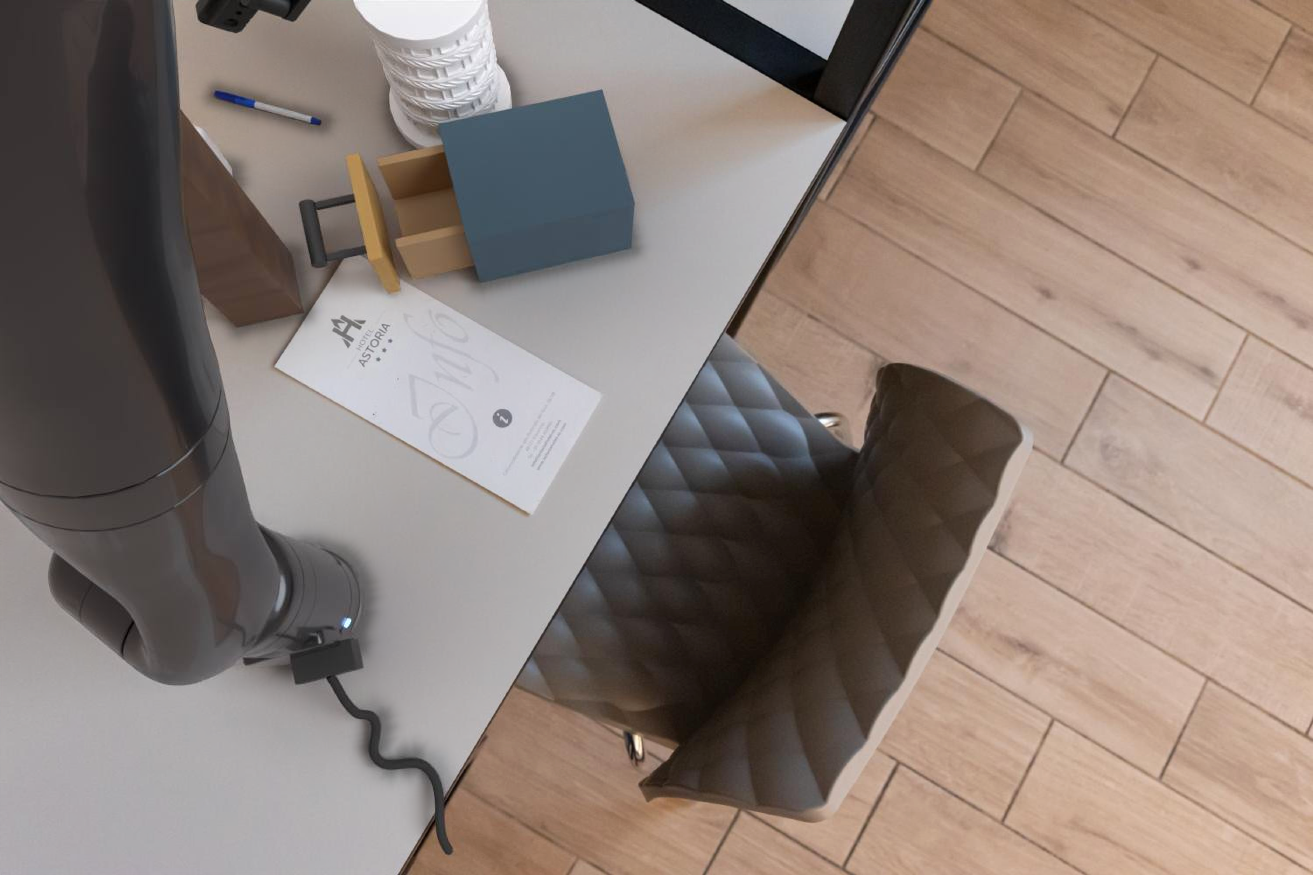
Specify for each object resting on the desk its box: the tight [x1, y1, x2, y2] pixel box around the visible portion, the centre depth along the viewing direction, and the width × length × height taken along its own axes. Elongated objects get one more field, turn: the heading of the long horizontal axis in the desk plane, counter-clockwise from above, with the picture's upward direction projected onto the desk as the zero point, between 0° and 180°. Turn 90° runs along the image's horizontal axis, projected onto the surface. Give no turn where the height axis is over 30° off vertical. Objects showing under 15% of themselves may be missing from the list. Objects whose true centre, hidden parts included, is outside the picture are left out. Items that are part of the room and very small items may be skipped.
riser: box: [180, 108, 304, 329], centre depth 77 cm, size 6×6×28 cm
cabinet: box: [438, 89, 636, 283], centre depth 89 cm, size 15×11×10 cm
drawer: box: [298, 144, 475, 295], centre depth 87 cm, size 19×10×8 cm, turn 105°
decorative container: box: [352, 0, 513, 150], centre depth 87 cm, size 12×12×18 cm
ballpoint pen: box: [213, 90, 322, 125], centre depth 94 cm, size 10×1×1 cm, turn 76°
